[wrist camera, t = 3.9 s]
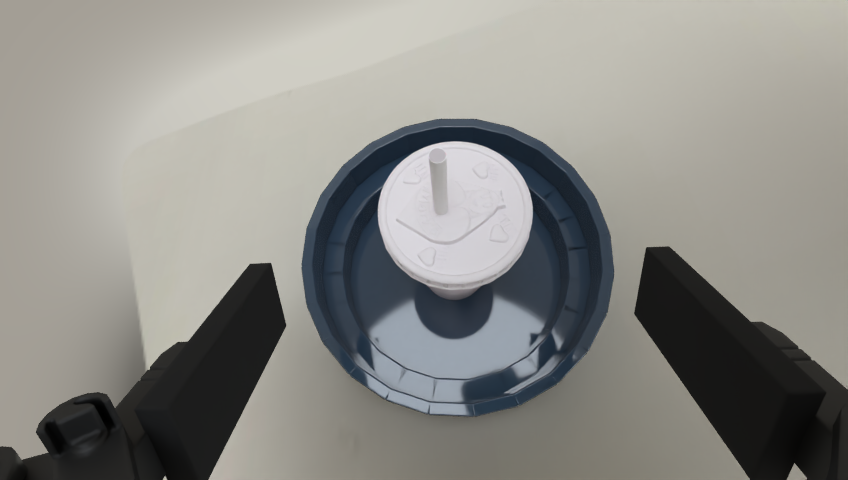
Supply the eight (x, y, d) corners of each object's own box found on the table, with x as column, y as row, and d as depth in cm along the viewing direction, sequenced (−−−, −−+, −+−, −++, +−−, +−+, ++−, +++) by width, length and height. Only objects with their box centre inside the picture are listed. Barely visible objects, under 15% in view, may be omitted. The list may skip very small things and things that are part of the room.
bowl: (643, 276, 26) (681, 254, 22) (450, 478, 23) (449, 498, 19) (456, 115, 31) (457, 71, 26) (275, 268, 28) (243, 245, 24)
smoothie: (394, 232, 28) (341, 88, 14) (492, 212, 28) (528, 51, 14) (411, 332, 26) (368, 270, 12) (518, 311, 26) (589, 226, 12)
